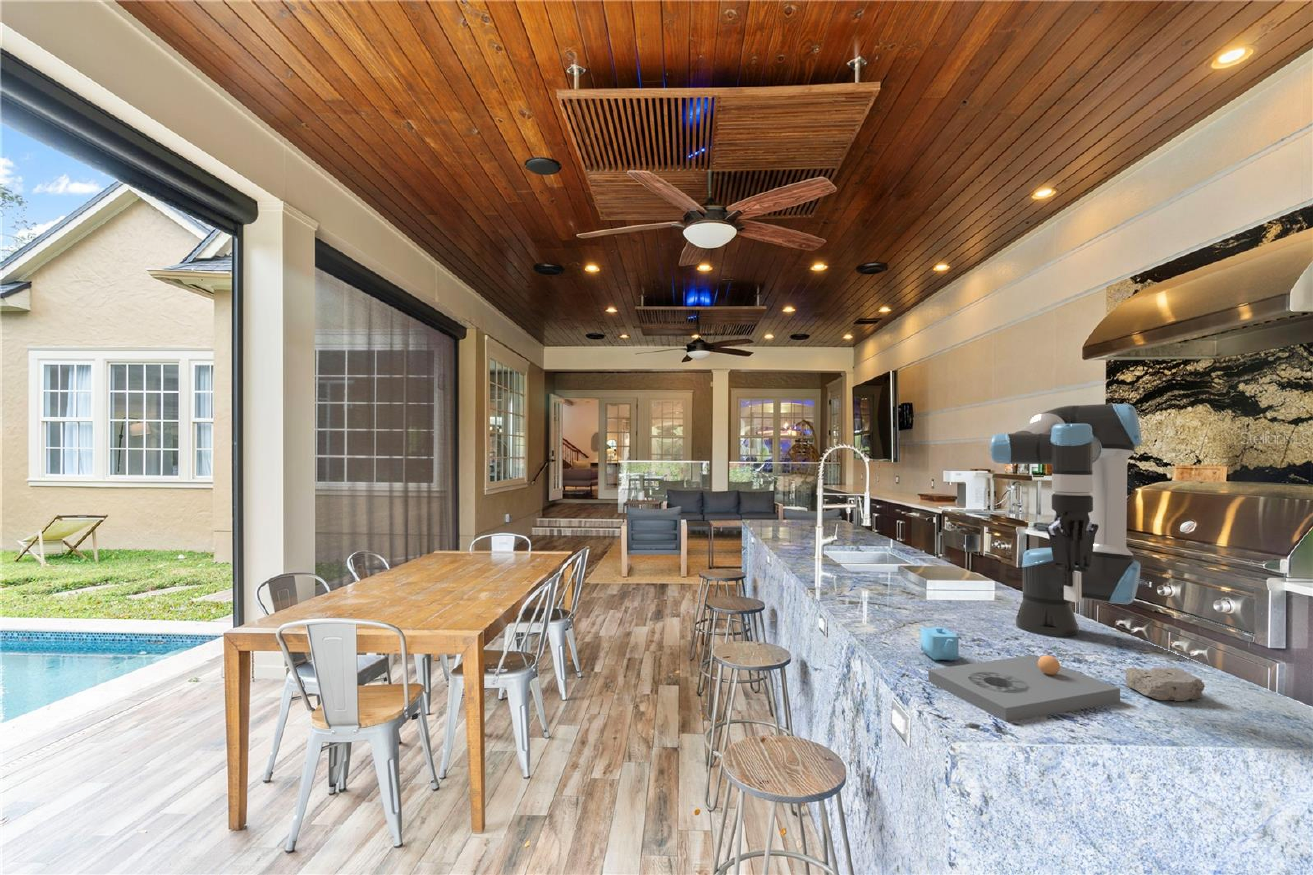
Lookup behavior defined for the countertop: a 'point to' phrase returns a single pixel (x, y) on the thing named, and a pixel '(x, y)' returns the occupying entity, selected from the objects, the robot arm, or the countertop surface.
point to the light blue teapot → (939, 643)
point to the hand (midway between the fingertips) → (1072, 600)
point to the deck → (1022, 688)
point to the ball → (1049, 665)
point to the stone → (1165, 683)
